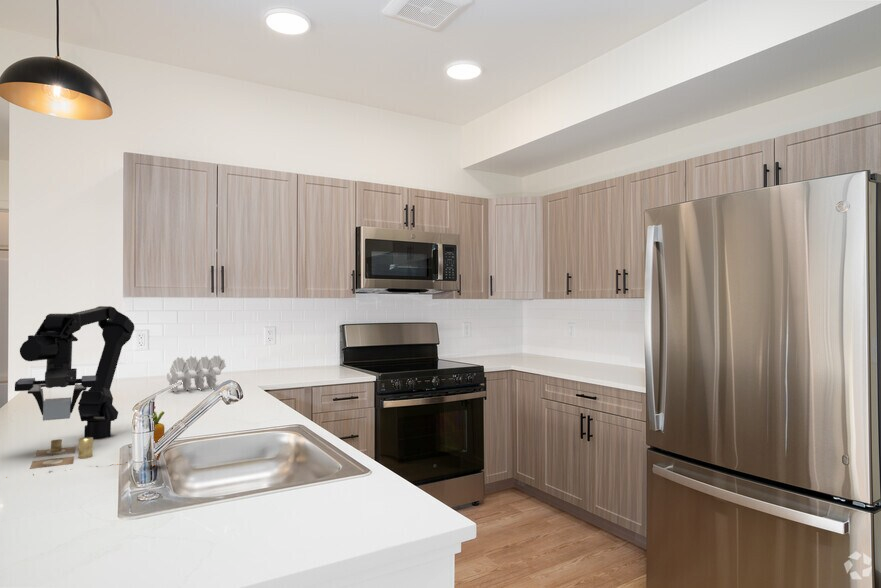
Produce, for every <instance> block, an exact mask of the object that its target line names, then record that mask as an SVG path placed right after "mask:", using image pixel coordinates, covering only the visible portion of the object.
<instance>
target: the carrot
mask: <svg viewBox="0 0 881 588" xmlns="http://www.w3.org/2000/svg"><path fill="white" fill-rule="evenodd" d="M153 412H154V415H153V421H154V420H155V431H154V441H155V443H157V442H158V440H159V439H160V438H161V437H162V436H163V435H164V436H165V429H166V428H165V425H164V424H163V423H160V420H161V419H162V417H163V415H164V414H165V411H161V412H159V415H158V414H157V411H153ZM161 455H162V451H161V452H160V453H159V454H158V456H157V460H158V461H159V459H160V457H161Z"/></svg>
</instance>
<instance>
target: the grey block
mask: <svg viewBox="0 0 881 588" xmlns="http://www.w3.org/2000/svg"><path fill="white" fill-rule="evenodd" d="M71 402H72V396H71V397H69V396H68V397H55V398H53V397H52V398H45V399H44V402H43V415H42V421H54V420H66V419H67V420H68V419H70V418H71V414H72V413H70V407H71Z"/></svg>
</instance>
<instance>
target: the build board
mask: <svg viewBox="0 0 881 588" xmlns="http://www.w3.org/2000/svg"><path fill="white" fill-rule="evenodd" d="M74 462H75V456H74V455H73V456H65V457H57V458H49V459H38V460H37V459H36V460H32V462H31V464H30V467H29V470H34V469H42V468H49V467H50V468H52V467H58V466H65V465H66V466H68V465H73V464H74Z"/></svg>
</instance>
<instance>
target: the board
mask: <svg viewBox="0 0 881 588" xmlns="http://www.w3.org/2000/svg"><path fill="white" fill-rule="evenodd" d="M62 440H63V439H53V440H51V442H50V448H47V449H39V450H36V452H35V455H34V458H40V457H50V456H51V457H53V456H58V455H59V456H60V455H61V456H62V455H68V454H69V455H70V454H75V453H76V448H77V446H66V447H62V445H63V441H62Z"/></svg>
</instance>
